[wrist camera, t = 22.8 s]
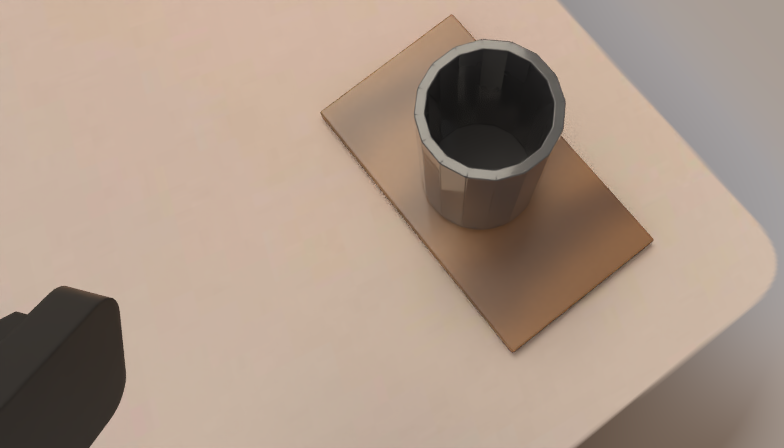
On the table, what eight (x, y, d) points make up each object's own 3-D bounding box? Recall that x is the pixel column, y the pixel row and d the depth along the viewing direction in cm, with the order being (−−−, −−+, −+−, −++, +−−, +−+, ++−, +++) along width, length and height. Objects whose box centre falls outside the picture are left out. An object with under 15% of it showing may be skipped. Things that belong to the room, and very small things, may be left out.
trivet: (651, 241, 37) (654, 239, 36) (512, 353, 36) (513, 352, 36) (452, 18, 41) (452, 13, 40) (321, 116, 40) (319, 111, 39)
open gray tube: (561, 182, 37) (596, 118, 29) (470, 253, 37) (478, 210, 28) (487, 98, 39) (500, 12, 30) (399, 165, 38) (385, 98, 30)
